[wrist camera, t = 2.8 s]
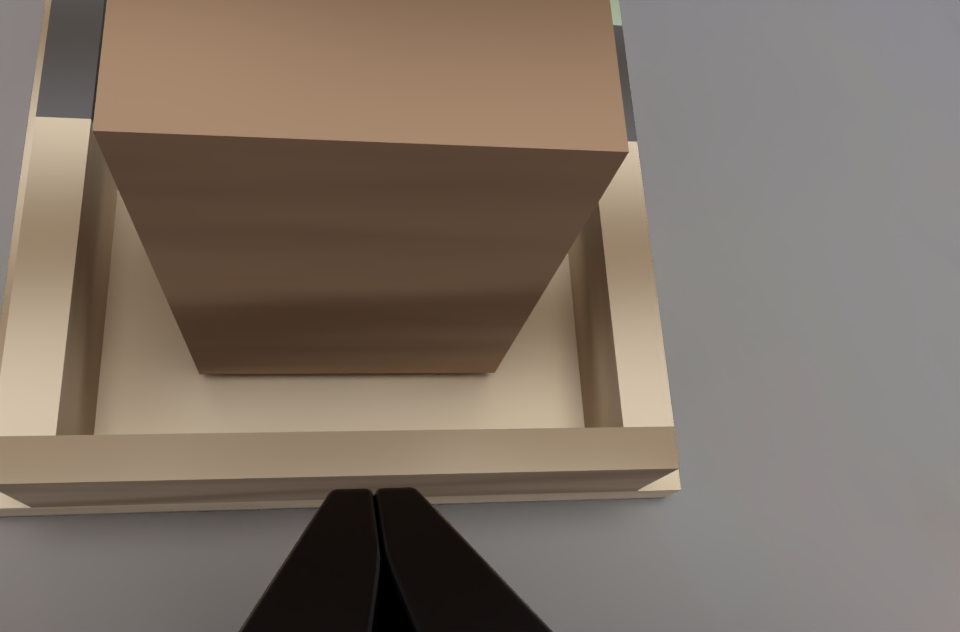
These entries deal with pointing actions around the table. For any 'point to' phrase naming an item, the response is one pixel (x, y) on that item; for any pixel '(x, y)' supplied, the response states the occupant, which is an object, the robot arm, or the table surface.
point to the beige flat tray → (310, 396)
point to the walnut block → (357, 170)
